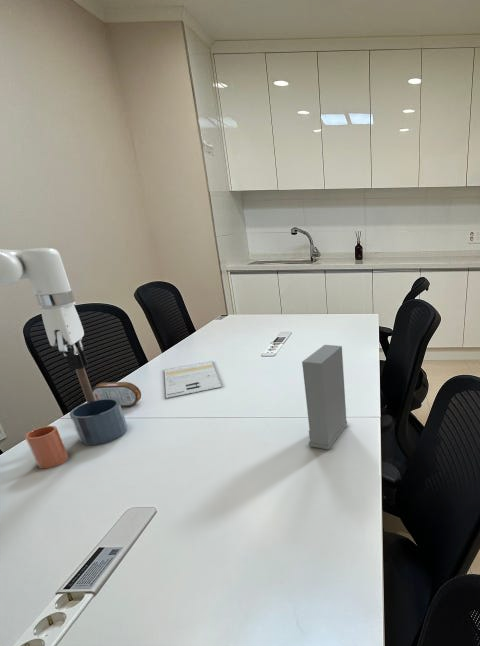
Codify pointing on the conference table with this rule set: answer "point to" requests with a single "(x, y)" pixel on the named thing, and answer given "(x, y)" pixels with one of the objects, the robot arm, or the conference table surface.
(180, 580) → the conference table surface
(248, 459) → the conference table surface
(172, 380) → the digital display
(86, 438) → the pot
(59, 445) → the cup
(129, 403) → the tin
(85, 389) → the stick
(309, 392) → the cassette tape recorder
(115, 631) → the conference table surface
